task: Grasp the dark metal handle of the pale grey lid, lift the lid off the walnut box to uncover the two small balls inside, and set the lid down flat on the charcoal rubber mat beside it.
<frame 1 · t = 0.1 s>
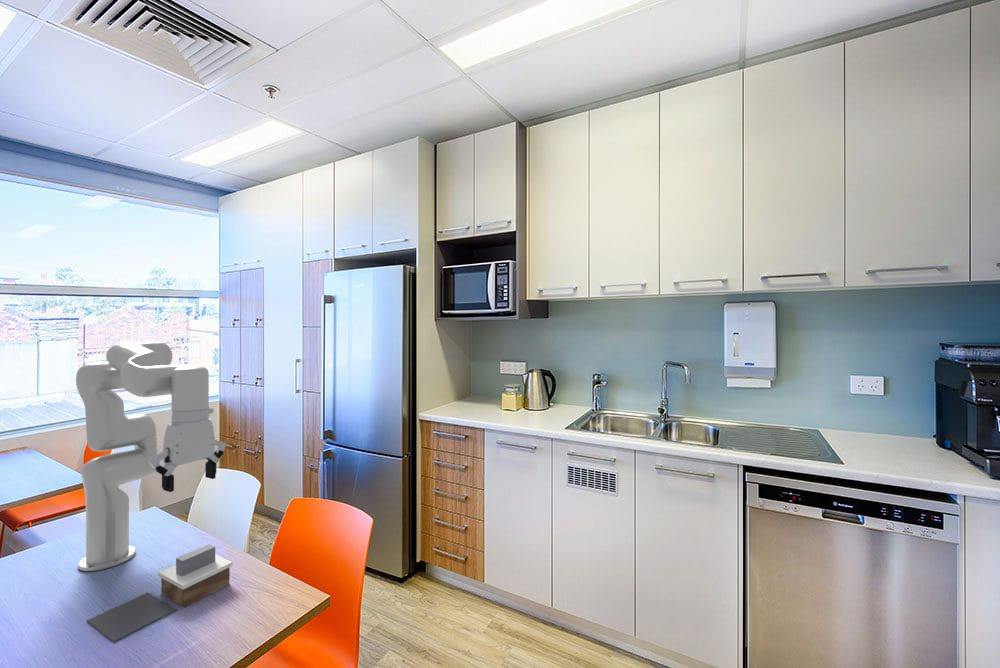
hand: (190, 484, 105), 31 cm above the table, tool pointing down, fingers open, 9 cm apart
orange ball: (182, 581, 112), point 2 cm above the table, touching box
mat: (132, 616, 102), on the table
lid: (196, 570, 112), point 5 cm above the table, touching box
box: (196, 589, 112), on the table
off-white ball: (209, 579, 113), point 2 cm above the table, touching box
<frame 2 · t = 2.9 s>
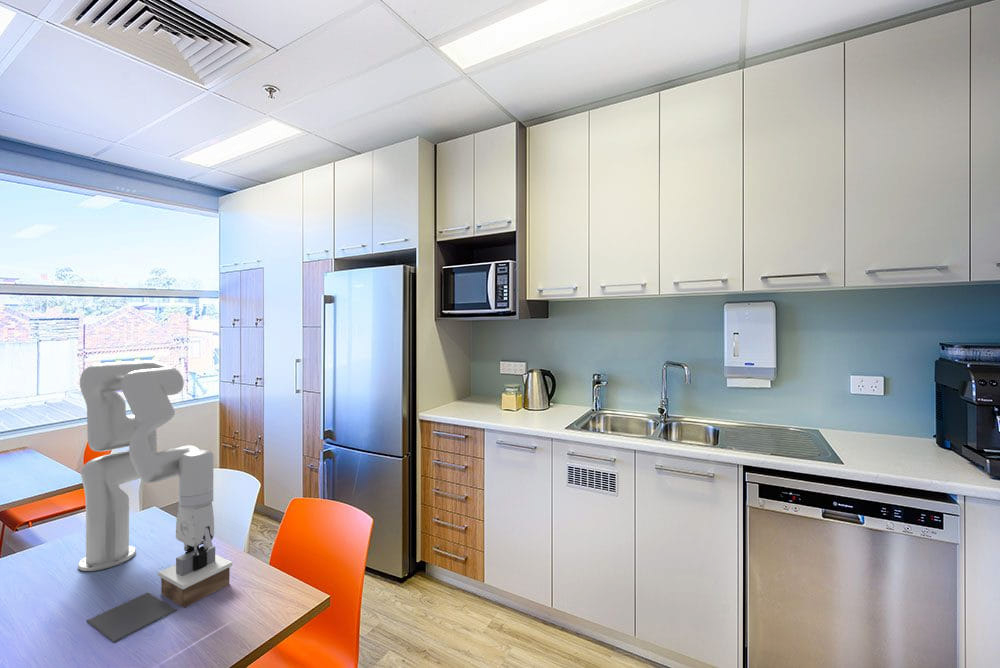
hand: (196, 565, 112), 6 cm above the table, tool pointing down, fingers closed on lid, 3 cm apart
lid: (196, 570, 112), point 5 cm above the table, touching gripper
everything else where it was.
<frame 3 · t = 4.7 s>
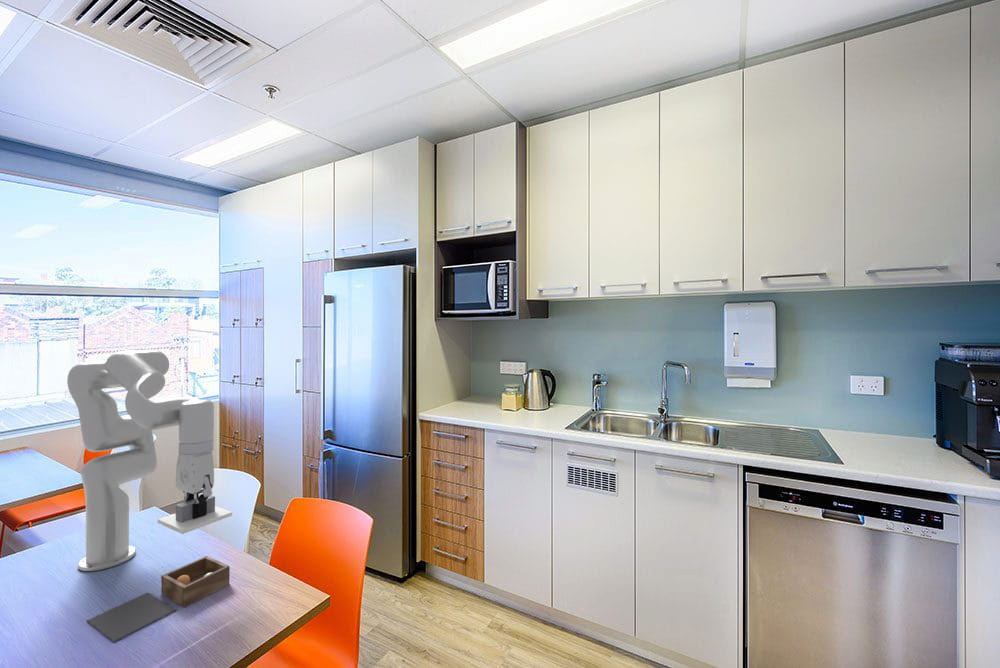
hand: (195, 514, 112), 20 cm above the table, tool pointing down, fingers closed on lid, 3 cm apart
lid: (195, 519, 112), point 19 cm above the table, touching gripper
everything else where it was.
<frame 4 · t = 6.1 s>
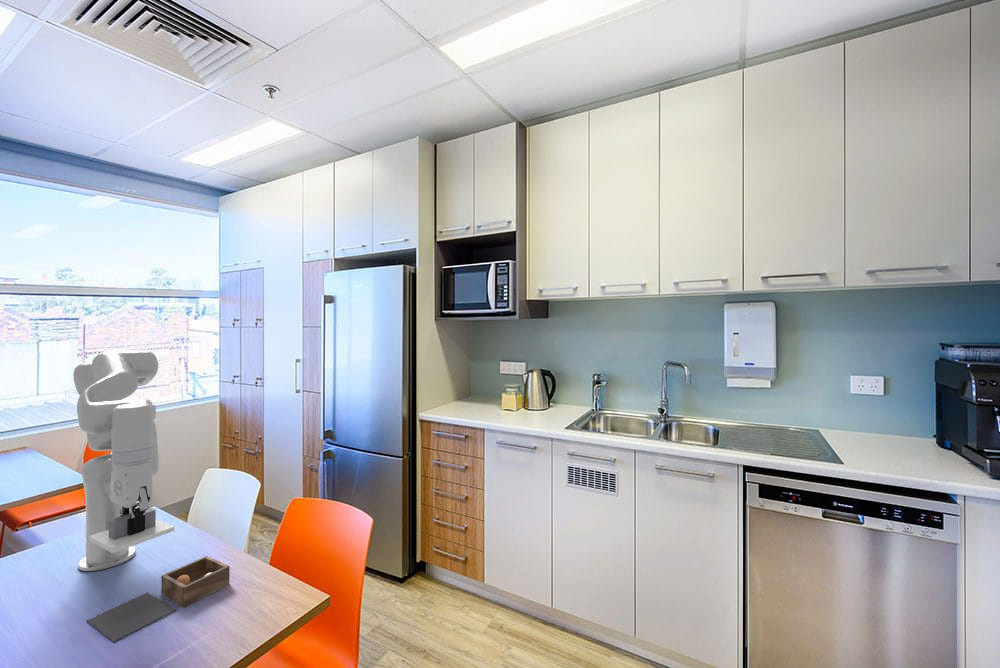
hand: (132, 530, 101), 21 cm above the table, tool pointing down, fingers closed on lid, 3 cm apart
lid: (132, 535, 101), point 20 cm above the table, touching gripper
everything else where it was.
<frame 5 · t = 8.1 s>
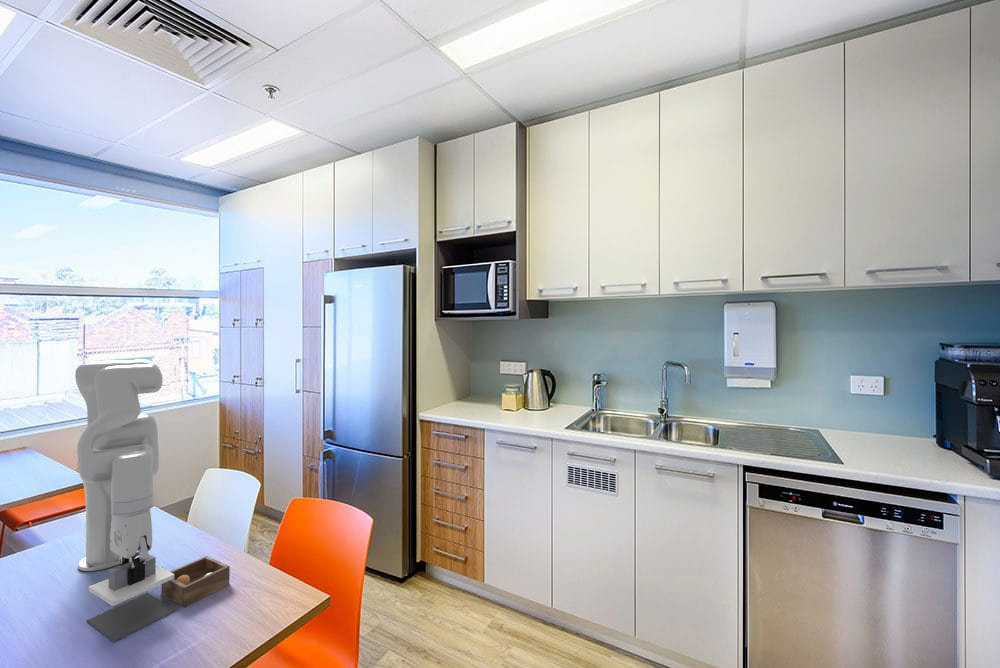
hand: (132, 579, 101), 9 cm above the table, tool pointing down, fingers closed on lid, 3 cm apart
lid: (132, 584, 101), point 8 cm above the table, touching gripper
everything else where it was.
when the fingers open (3 cm above the table, at t = 9.6 s): lid drops 2 cm, resting on mat.
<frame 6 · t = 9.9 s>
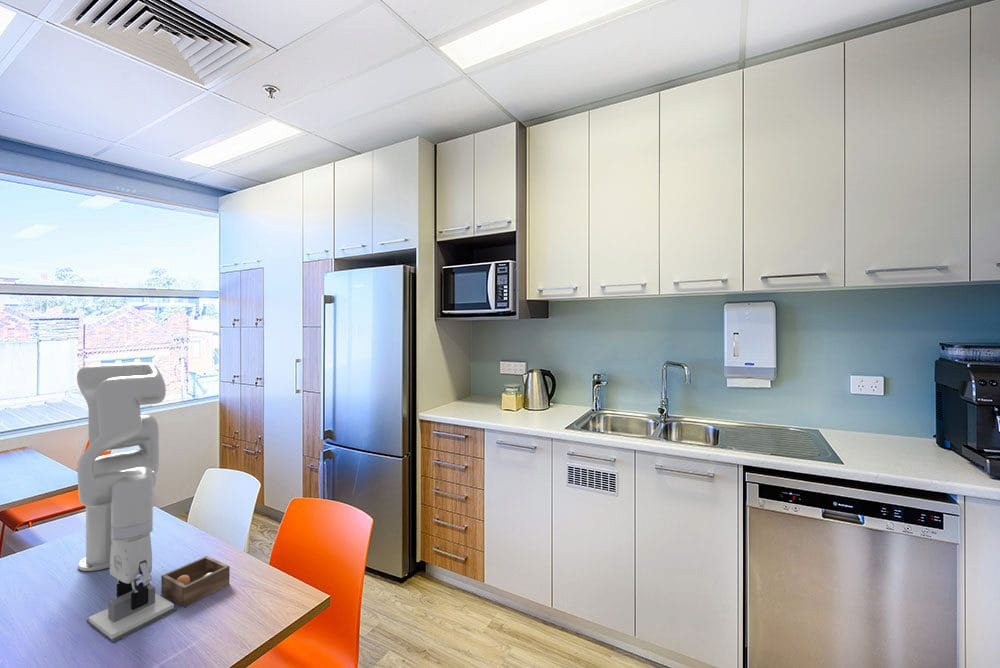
hand: (132, 601, 102), 4 cm above the table, tool pointing down, fingers open, 6 cm apart
lid: (132, 614, 102), resting on mat
everything else where it was.
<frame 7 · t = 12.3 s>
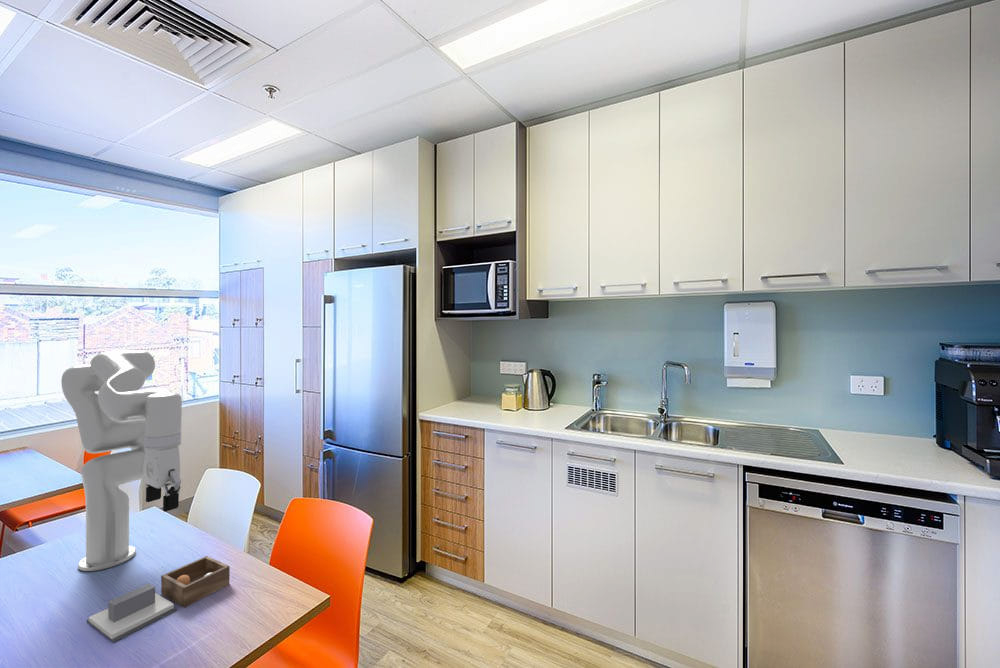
hand: (161, 504, 111), 23 cm above the table, tool pointing down, fingers open, 9 cm apart
nothing on the table moved.
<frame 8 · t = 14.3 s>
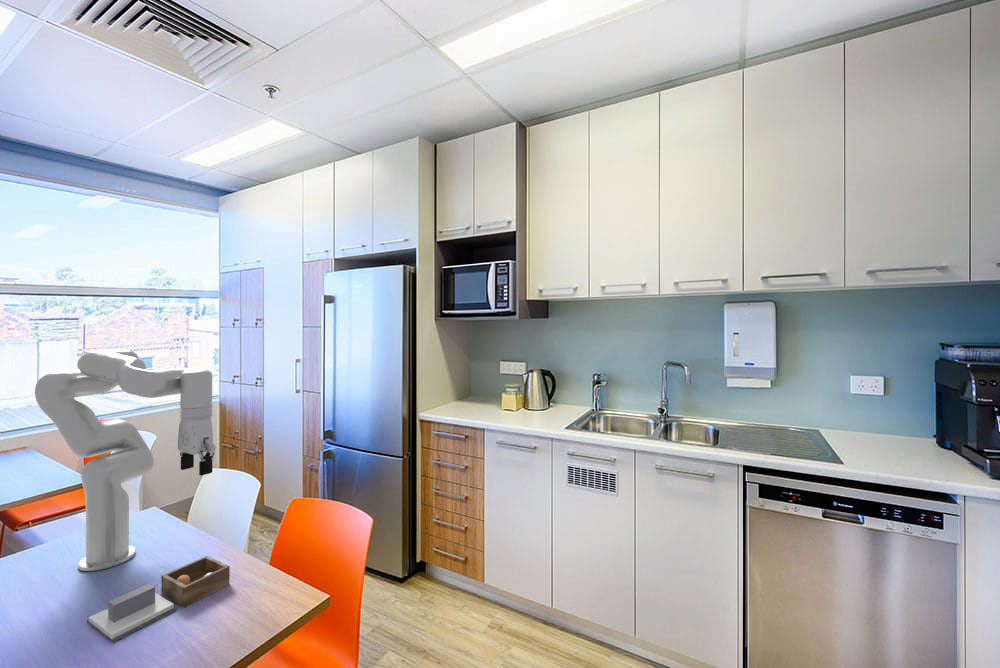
hand: (196, 471, 122), 28 cm above the table, tool pointing down, fingers open, 9 cm apart
nothing on the table moved.
at the end: lid inside the target area on the mat (0.0 cm from its centre), point 0.4 cm above the mat's base; lid tilted 0°; the gripper is holding nothing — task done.
